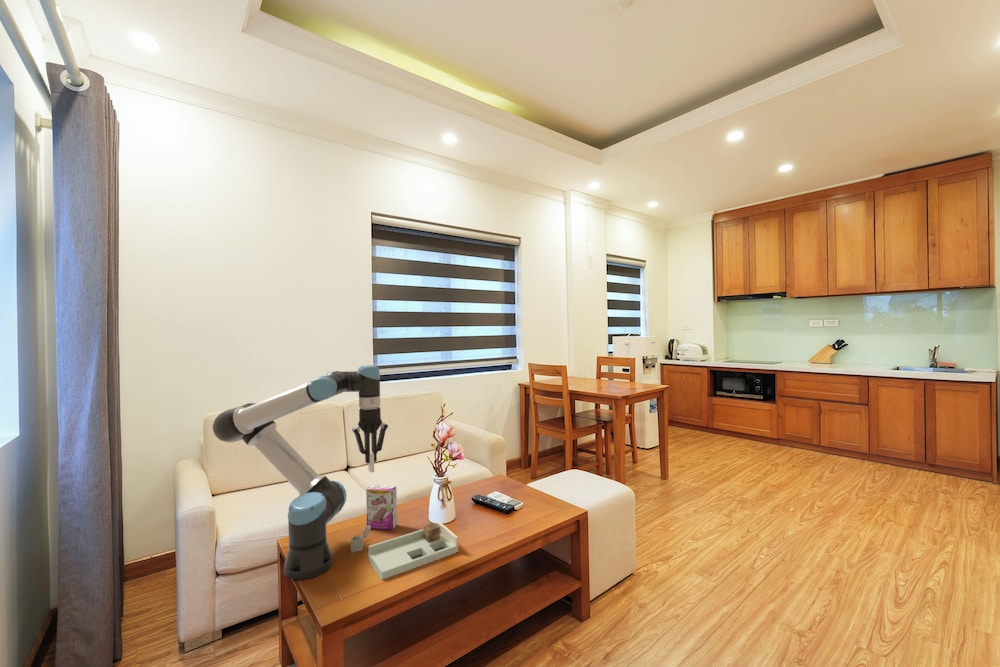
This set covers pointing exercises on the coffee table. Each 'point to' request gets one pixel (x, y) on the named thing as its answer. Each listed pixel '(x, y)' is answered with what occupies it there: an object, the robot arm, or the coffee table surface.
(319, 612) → the coffee table surface
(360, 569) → the coffee table surface
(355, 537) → the lighter
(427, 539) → the block
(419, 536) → the board
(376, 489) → the candy bar box
